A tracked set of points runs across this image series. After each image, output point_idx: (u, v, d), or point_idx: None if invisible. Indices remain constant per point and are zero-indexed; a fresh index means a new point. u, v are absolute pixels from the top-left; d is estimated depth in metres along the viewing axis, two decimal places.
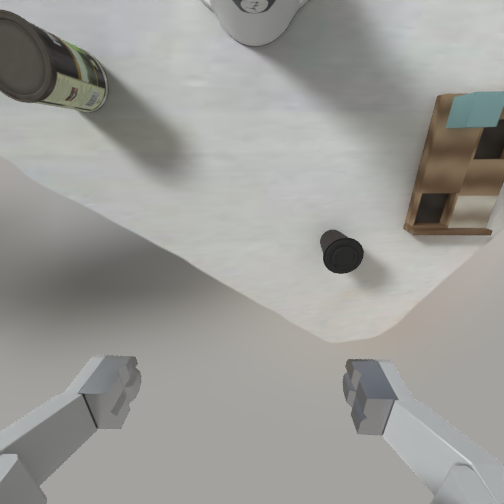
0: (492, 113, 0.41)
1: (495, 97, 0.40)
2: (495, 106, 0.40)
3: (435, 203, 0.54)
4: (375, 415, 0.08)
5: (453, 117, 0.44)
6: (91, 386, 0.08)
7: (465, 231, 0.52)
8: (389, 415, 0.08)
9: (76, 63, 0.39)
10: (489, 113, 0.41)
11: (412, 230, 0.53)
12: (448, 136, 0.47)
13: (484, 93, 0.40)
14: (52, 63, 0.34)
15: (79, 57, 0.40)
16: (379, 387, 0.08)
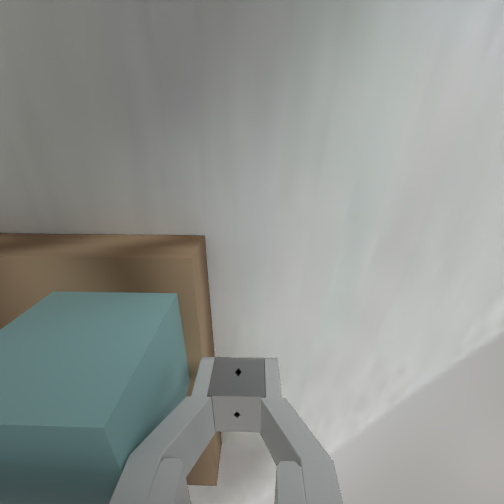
0: None
1: (106, 503, 0.07)
2: None
3: None
4: (247, 412, 0.08)
5: (70, 313, 0.09)
6: (217, 388, 0.08)
7: None
8: (261, 413, 0.08)
9: None
10: (20, 497, 0.07)
11: None
12: None
13: (107, 462, 0.06)
14: None
15: None
16: (252, 385, 0.08)
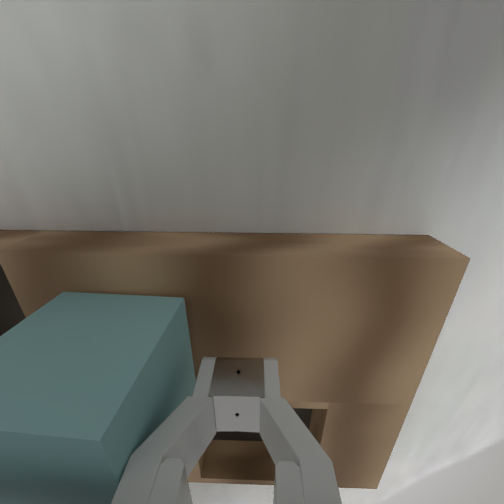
0: None
1: None
2: None
3: None
4: (247, 412, 0.08)
5: (78, 315, 0.09)
6: (218, 388, 0.08)
7: None
8: (260, 413, 0.08)
9: None
10: (21, 500, 0.07)
11: None
12: (275, 311, 0.10)
13: (104, 474, 0.06)
14: None
15: None
16: (251, 385, 0.08)
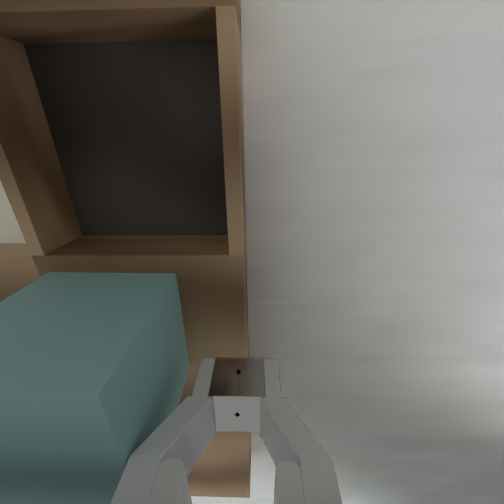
0: None
1: (20, 498, 0.07)
2: None
3: (114, 175, 0.10)
4: (247, 412, 0.08)
5: (170, 332, 0.09)
6: (217, 388, 0.08)
7: None
8: (260, 413, 0.08)
9: None
10: None
11: None
12: None
13: None
14: None
15: None
16: (251, 385, 0.08)
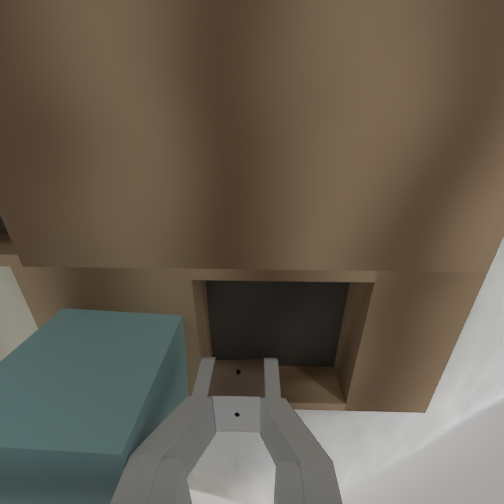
0: None
1: None
2: None
3: None
4: (247, 412, 0.08)
5: (81, 333, 0.09)
6: (217, 388, 0.08)
7: None
8: (260, 413, 0.08)
9: None
10: None
11: None
12: (314, 98, 0.07)
13: None
14: None
15: None
16: (252, 385, 0.08)
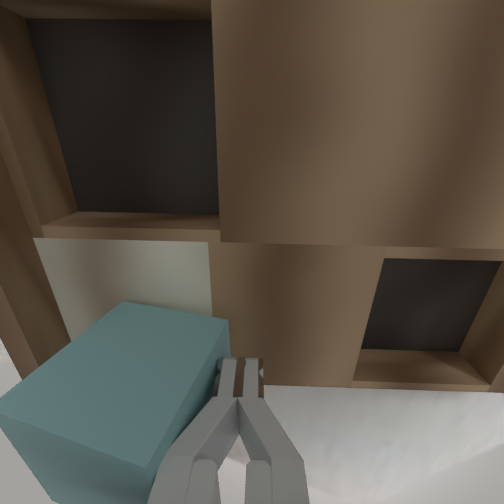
0: (84, 501, 0.08)
1: None
2: None
3: (164, 165, 0.11)
4: None
5: (133, 327, 0.09)
6: (242, 389, 0.08)
7: (11, 317, 0.09)
8: (238, 412, 0.08)
9: None
10: (79, 492, 0.07)
11: None
12: None
13: (147, 495, 0.06)
14: None
15: None
16: (230, 384, 0.08)
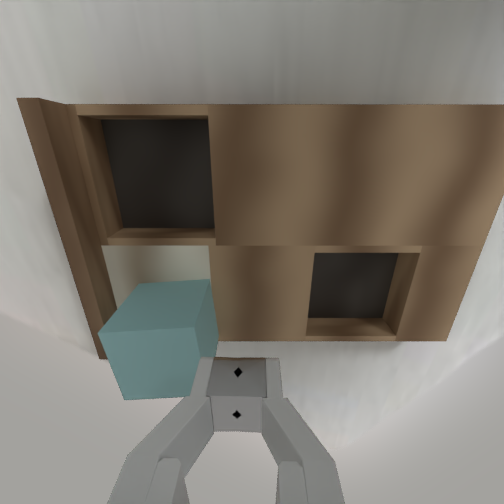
0: (151, 382, 0.14)
1: (190, 374, 0.14)
2: (168, 382, 0.14)
3: (180, 198, 0.17)
4: (249, 412, 0.08)
5: (155, 292, 0.16)
6: (215, 388, 0.08)
7: (91, 293, 0.15)
8: (262, 412, 0.08)
9: None
10: (149, 375, 0.14)
11: None
12: (397, 155, 0.14)
13: (193, 347, 0.13)
14: None
15: None
16: (253, 385, 0.08)
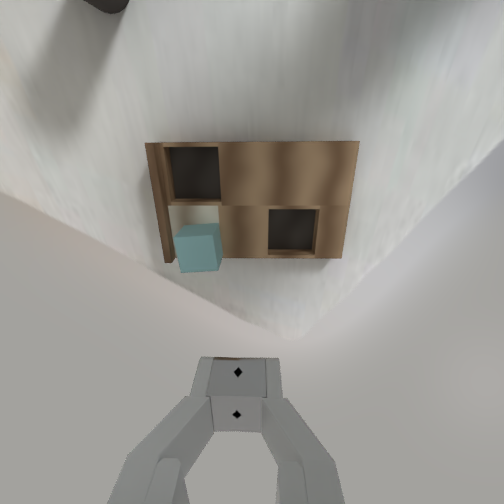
0: (193, 262, 0.32)
1: (210, 259, 0.32)
2: (201, 262, 0.32)
3: (204, 183, 0.35)
4: (249, 412, 0.08)
5: (193, 227, 0.34)
6: (215, 388, 0.08)
7: (164, 227, 0.34)
8: (262, 413, 0.08)
9: None
10: (192, 259, 0.32)
11: None
12: (301, 162, 0.32)
13: (212, 244, 0.31)
14: None
15: None
16: (253, 385, 0.08)
